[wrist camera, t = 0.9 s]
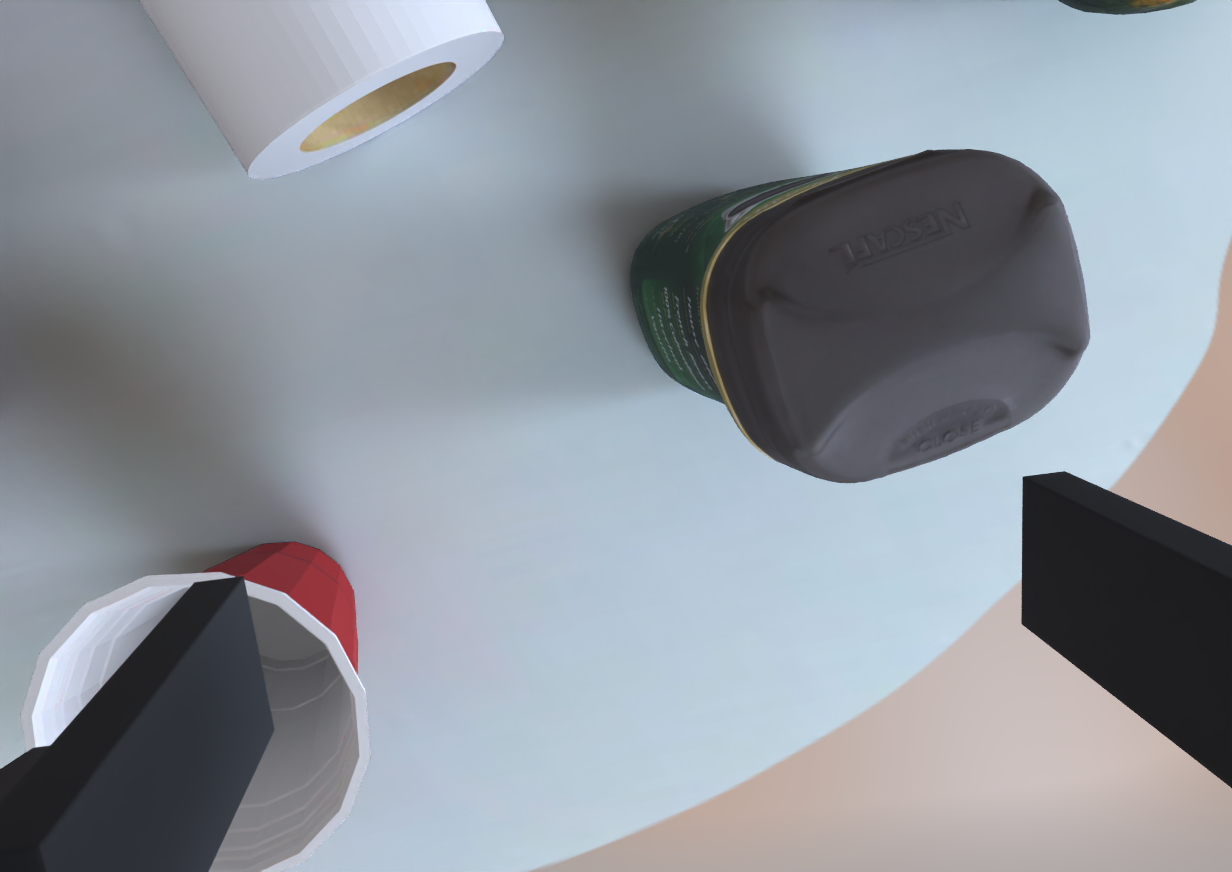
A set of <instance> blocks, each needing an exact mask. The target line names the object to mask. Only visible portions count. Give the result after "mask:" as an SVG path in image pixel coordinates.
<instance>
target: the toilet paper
mask: <svg viewBox="0 0 1232 872" xmlns="http://www.w3.org/2000/svg"><path fill="white" fill-rule="evenodd" d="M139 1H140V3H141V4H142V6H143V8H144V9H145V11H146V12H147V14H148V16H149V17H150V19H151V20H152V22H153V24H154V25H155V27H156V28H157V30H158V32H159V33H160V35H161V36H162V38H163V40H164V41H165V43H166V44H167V46H168V48H169V49H170V51H171V52H172V54H173V56H174V57H175V59H176V60H177V62H178V64H179V65H180V67H181V68H182V70H183V72H184V73H185V75H186V76H187V78H188V80H189V81H190V83H191V84H192V86H193V88H194V89H195V91H196V92H197V94H198V96H199V97H200V99H201V100H202V102H203V104H204V105H205V107H206V108H207V110H208V112H209V113H210V115H211V116H212V118H213V120H214V121H215V123H216V124H217V126H218V128H219V129H220V131H221V132H222V134H223V136H224V137H225V139H226V140H227V142H228V143H229V145H230V147H231V148H232V150H233V151H234V153H235V155H236V156H237V158H238V159H239V161H240V163H241V164H242V166H243V167H244V169H245V171H246V172H247V174H248V175H249V177H250V178H253V179H258V180H261V179H271V178H276V177H280V176H284V175H287V174H290V173H294V172H297V171H300V170H303V169H305V168H308V167H311V166H313V165H316V164H318V163H321V162H323V161H325V160H328V159H330V158H333V157H335V156H337V155H339V154H341V153H344V152H346V151H348V150H350V149H352V148H354V147H356V146H358V145H360V144H362V143H364V142H366V141H368V140H370V139H372V138H374V137H376V136H378V135H380V134H382V133H383V132H385V131H387V130H389V129H391V128H393V127H394V126H396V125H398V124H400V123H401V122H403V121H405V120H407V119H408V118H410V117H412V116H413V115H415V114H417V113H418V112H420V111H421V110H423V109H425V108H426V107H428V106H429V105H431V104H433V103H434V102H436V101H437V100H439V99H440V98H442V97H443V96H445V95H446V94H448V93H449V92H450V91H452V90H453V89H455V88H456V87H457V86H459V85H460V84H462V83H463V82H464V81H466V80H467V79H468V78H469V77H471V76H472V75H473V74H474V73H476V72H477V71H478V70H479V69H480V68H481V67H483V66H484V65H485V64H486V63H487V62H488V61H489V60H490V59H491V58H492V57H493V56H494V55H495V54H496V52H497V51H498V50H499V49H500V47H501V45H502V43H503V41H504V36H503V34H502V32H501V30H500V28H499V26H498V24H497V22H496V20H495V19H494V17H493V15H492V13H491V11H490V9H489V7H488V5H487V4H486V2H485V0H139Z"/></svg>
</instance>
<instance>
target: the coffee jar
mask: <svg viewBox="0 0 1232 872" xmlns="http://www.w3.org/2000/svg"><path fill="white" fill-rule="evenodd" d="M630 285H631V292H632V298H633V303H634V306H635V310H636V313H637V317H638V320H639V323H640V326H641V329H642V332H643V335H644V337H645V340H646V342H647V344H648V347H649V349H650V351H651V353H652V355H653V356H654V358H655V360H656V361H657V363H658V364H659V366H660V367H661V368H662V369H663V371H664V372H665V373H666V374H668V375H669V376H670V377H671V378H672V379H674V380H675V381H677V382H678V383H680V384H681V385H683V386H685V387H687V388H688V389H690V390H692V391H694V392H697V393H699V394H701V395H703V396H706V397H708V398H711V399H714V400H716V401H719V402H721V403H723V404H725V405H726V407H727V409H728V411H729V413H730V414H731V416H732V418H733V419H734V421H735V423H736V424H737V426H738V428H739V429H740V430H741V432H742V433H743V434H744V436H745V437H746V438H747V439H748V440H749V442H750V443H751V444H752V445H753V446H754V447H755V448H757V449H758V450H759V451H761V452H762V453H763V454H764V455H766V456H768V457H769V458H771V459H773V460H775V461H777V462H779V463H782V464H785V465H787V466H789V467H791V468H794V469H796V470H799V471H802V472H803V473H806V474H808V475H811V476H814V477H816V478H820V479H824V480H827V481H832V482H838V483H857V482H866V481H870V480H873V479H877V478H882V477H884V476H887V475H890V474H893V473H896V472H900V471H903V470H907V469H910V468H913V467H916V466H919V465H922V464H925V463H928V462H931V461H934V460H937V459H940V458H943V457H945V456H948V455H950V454H952V453H955V452H958V451H960V450H963V449H965V448H968V447H970V446H971V445H973V444H976V443H978V442H981V441H983V440H986V439H988V438H990V437H992V436H994V435H996V434H998V433H1000V432H1002V431H1005V430H1008V429H1010V428H1012V427H1014V426H1016V425H1018V424H1020V423H1021V422H1023V421H1025V420H1027V419H1029V418H1030V417H1031V416H1033V415H1034V414H1036V413H1037V412H1039V411H1040V410H1041V409H1042V408H1044V407H1045V406H1046V405H1047V404H1048V403H1049V402H1050V401H1051V400H1052V399H1053V398H1054V397H1055V396H1056V395H1057V394H1058V393H1059V392H1060V390H1061V389H1062V388H1063V387H1064V385H1065V384H1066V383H1067V381H1068V380H1069V378H1070V377H1071V375H1072V374H1073V373H1074V371H1075V369H1076V367H1077V366H1078V364H1079V362H1080V359H1081V357H1082V354H1083V352H1084V350H1085V349H1086V347H1087V346H1088V344H1089V340H1090V328H1089V316H1088V308H1087V301H1086V293H1085V286H1084V280H1083V275H1082V270H1081V265H1080V261H1079V256H1078V251H1077V247H1076V243H1075V240H1074V236H1073V232H1072V229H1071V225H1070V223H1069V221H1068V216H1067V215H1066V211H1065V208H1064V205H1063V203H1062V201H1061V199H1060V197H1059V196H1058V195H1057V194H1056V193H1055V192H1054V191H1053V190H1052V188H1051V187H1050V186H1049V185H1048V184H1047V183H1046V182H1045V181H1044V180H1043V179H1042V178H1041V177H1040V176H1039V175H1038V174H1037V173H1035V172H1034V171H1033V170H1032V169H1030V168H1029V167H1027V166H1025V165H1024V164H1023V163H1021V162H1020V161H1017V160H1015V159H1012V158H1010V157H1007V156H1004V155H1002V154H998V153H994V152H989V151H982V150H973V149H965V150H935V151H934V150H926V151H924V152H921V153H918V154H915V155H910V156H906V157H902V158H898V159H894V160H890V161H886V162H881V163H877V164H872V165H868V166H864V167H859V168H854V169H849V170H844V171H837V172H831V173H825V174H819V175H814V176H807V177H801V178H794V179H787V180H781V181H776V182H770V183H766V184H761V185H757V186H753V187H749V188H746V189H742V190H738V191H735V192H732V193H729V194H726V195H723V196H720V197H717V198H715V199H712V200H709V201H707V202H704V203H702V204H699V205H697V206H695V207H692V208H690V209H688V210H686V211H684V212H682V213H680V214H678V215H676V216H674V217H672V218H670V219H668V220H666V221H664V222H663V223H661V224H660V225H658V226H656V227H655V228H654V229H653V230H652V231H650V232H649V233H648V234H647V236H646V237H645V238H644V239H643V241H642V242H641V243H640V245H639V247H638V248H637V250H636V252H635V254H634V257H633V261H632V265H631V272H630Z"/></svg>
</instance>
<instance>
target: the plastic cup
mask: <svg viewBox="0 0 1232 872" xmlns="http://www.w3.org/2000/svg"><path fill="white" fill-rule="evenodd" d="M240 576H244V580H245V585H246V590H247V595H248V600H249V605H250V610H251V615H252V620H253V625H254V630H255V634H256V639H257V644H258V649H259V654H260V659H261V664H262V669H263V674H264V679H265V684H266V689H267V694H268V699H269V704H270V709H271V714H272V719H273V724H274V729H275V730H274V732H273V735H272V737H271V739H270V741H269V743H268V745H267V747H266V750H265V752H264V754H263V756H262V758H261V760H260V762H259V765H258V767H257V769H256V771H255V773H254V775H253V777H252V780H251V782H250V784H249V786H248V788H247V790H246V792H245V795H244V797H243V799H242V801H241V803H240V805H239V807H238V810H237V812H236V814H235V816H234V818H233V820H232V823H231V825H230V827H229V829H228V831H227V833H226V835H225V838H224V840H223V842H222V844H221V846H220V848H219V850H218V853H217V855H216V857H215V859H214V861H213V863H212V865H211V868H210V870H209V872H283V871H285V870H287V869H290V868H292V867H294V866H296V865H298V864H301V863H303V862H305V861H307V860H308V859H309V858H310V857H311V856H312V855H313V853H314V852H315V851H316V850H317V849H318V848H319V847H320V846H321V845H322V844H323V843H324V842H325V841H326V840H327V839H328V838H329V837H330V835H331V834H332V833H333V832H334V831H335V830H336V829H337V828H338V827H339V826H340V825H341V824H342V823H343V822H344V821H345V820H346V819H347V817H348V816H349V815H350V813H351V810H352V808H353V805H354V802H355V799H356V797H357V794H358V791H359V788H360V785H361V783H362V780H363V777H364V774H365V772H366V769H367V766H368V763H369V761H370V758H371V753H370V740H369V727H368V714H367V700H366V692H365V689H364V687H363V685H362V683H361V681H360V679H359V677H358V675H357V674H358V639H357V628H356V611H355V600H354V591H353V589H352V587H351V585H350V583H349V581H348V580H347V578H346V576H345V574H344V572H343V571H342V569H341V567H340V565H338V564H337V563H336V562H335V561H333V560H332V559H331V558H330V557H328V556H327V555H326V554H325V553H323V552H322V551H321V550H319V549H316V548H313V547H310V546H306V545H303V544H300V543H297V542H283V543H268V544H261V545H259V546H257V547H255V548H253V549H250V550H248V551H246V552H244V553H242V554H240V555H237V556H235V557H233V558H231V559H229V560H227V561H224V562H222V563H220V564H218V565H216V566H214V567H211V568H209V569H207V570H205V571H203V572H201V573H190V574H169V575H149V576H144V577H142V578H140V579H138V580H136V581H133V582H131V583H129V584H127V585H125V586H123V587H120V588H118V589H116V590H114V591H112V592H109V593H107V594H105V595H103V596H101V597H99V598H96V599H94V600H92V601H90V602H88V603H85V604H84V605H83V606H82V607H81V608H80V609H79V610H78V611H77V612H76V613H75V614H74V616H73V617H72V618H71V619H70V620H69V621H68V622H67V623H66V624H65V626H64V627H63V628H62V629H61V630H60V631H59V632H58V633H57V634H56V636H55V637H54V638H53V639H52V640H51V641H50V642H49V643H48V644H47V646H46V647H45V648H44V649H43V650H42V651H41V652H40V653H39V656H38V660H37V663H36V666H35V669H34V672H33V676H32V679H31V682H30V685H29V688H28V692H27V695H26V698H25V701H24V704H23V708H22V711H21V714H20V716H21V724H22V731H23V739H24V746H25V753H26V752H27V751H29V750H30V749H32V748H35V747H42V746H49V745H51V744H52V743H53V742H54V741H55V740H56V739H57V737H58V736H59V735H60V734H61V733H62V732H63V731H64V729H65V728H66V727H67V726H68V725H69V724H70V723H71V722H72V720H73V719H74V718H75V717H76V716H77V715H78V714H79V712H80V711H81V710H82V709H83V708H84V707H85V706H86V705H87V703H88V702H89V701H90V700H91V699H92V698H93V697H94V696H95V694H96V693H97V692H98V691H99V690H100V689H101V688H102V686H103V685H104V684H105V683H106V682H107V681H108V680H109V679H110V677H111V676H112V675H113V674H114V673H115V672H116V671H117V669H118V668H119V667H120V666H121V665H122V664H123V663H124V662H125V660H126V659H127V658H128V657H129V656H130V655H131V654H132V652H133V651H134V650H135V649H136V648H137V647H138V646H139V645H140V643H141V642H142V641H143V640H144V639H145V638H146V637H147V636H148V634H149V633H150V632H151V631H152V630H153V629H154V628H155V626H156V625H157V624H158V623H159V622H160V621H161V620H162V619H163V617H164V616H165V615H166V614H167V613H168V612H169V611H170V609H171V608H172V607H173V606H174V605H175V604H176V603H177V602H178V600H179V599H180V598H181V597H182V596H183V595H184V594H185V593H186V591H187V590H188V589H189V588H190V587H191V586H192V585H193V583H194V582H201V581H208V580H216V579H224V578H232V577H240Z"/></svg>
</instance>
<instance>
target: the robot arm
mask: <svg viewBox="0 0 1232 872" xmlns="http://www.w3.org/2000/svg"><path fill="white" fill-rule="evenodd" d="M1022 625H1024V626H1025V627H1026V628H1027V629H1029V630H1030V631H1031V632H1033V633H1034V634H1035V635H1037V636H1038V637H1039V638H1040V639H1042V640H1043V641H1044V642H1045V643H1047V644H1048V645H1049V646H1051V647H1052V648H1053V649H1054V650H1056V651H1057V652H1058V653H1059V654H1061V655H1062V656H1063V657H1065V658H1066V659H1067V660H1068V661H1070V662H1071V663H1072V664H1074V665H1075V666H1076V667H1077V668H1079V669H1080V670H1081V671H1083V672H1084V673H1085V674H1087V675H1088V676H1089V677H1090V678H1092V679H1093V680H1094V681H1096V682H1097V683H1098V684H1099V685H1101V686H1102V687H1103V688H1104V689H1106V690H1107V691H1108V692H1109V693H1111V694H1112V695H1113V696H1115V697H1116V698H1117V699H1118V700H1120V701H1121V702H1122V703H1124V704H1125V705H1126V706H1127V707H1129V708H1130V709H1131V710H1133V711H1134V712H1135V713H1136V714H1138V715H1139V716H1140V717H1141V718H1143V719H1144V720H1145V721H1147V722H1148V723H1149V724H1151V725H1152V726H1153V727H1154V728H1156V729H1157V730H1158V731H1159V732H1161V733H1162V734H1163V735H1165V736H1166V737H1167V738H1168V739H1170V740H1171V741H1172V742H1174V743H1175V744H1176V745H1177V746H1179V747H1180V748H1181V749H1182V750H1184V751H1185V752H1186V753H1188V754H1189V755H1190V756H1192V757H1193V758H1194V759H1195V760H1197V761H1198V762H1199V763H1200V764H1202V765H1203V766H1204V767H1206V768H1207V769H1208V770H1209V771H1211V772H1212V773H1213V774H1215V775H1216V776H1217V777H1218V778H1220V779H1221V780H1222V781H1224V782H1225V783H1226V784H1227V785H1229V786H1230V787H1231V788H1232V546H1231V545H1229V544H1227V543H1225V542H1222V541H1220V540H1218V539H1216V538H1213V537H1211V536H1209V535H1207V534H1204V533H1202V532H1200V531H1198V530H1195V529H1193V528H1191V527H1189V526H1186V525H1184V524H1182V523H1180V522H1177V521H1175V520H1173V519H1171V518H1168V517H1166V516H1164V515H1161V514H1159V513H1157V512H1155V511H1153V510H1150V509H1148V508H1146V507H1144V506H1141V505H1139V504H1137V503H1135V502H1132V501H1130V500H1128V499H1126V498H1123V497H1121V496H1119V495H1116V494H1114V493H1112V492H1110V491H1108V490H1105V489H1103V488H1101V487H1099V486H1097V485H1094V484H1092V483H1090V482H1088V481H1085V480H1083V479H1081V478H1079V477H1076V476H1074V475H1072V474H1070V473H1067V472H1065V471H1064V472H1056V473H1048V474H1040V475H1033V476H1025V477H1023V508H1022ZM274 730H275V729H274V724H273V719H272V714H271V709H270V704H269V699H268V694H267V689H266V684H265V679H264V674H263V669H262V664H261V659H260V654H259V649H258V644H257V639H256V634H255V630H254V625H253V620H252V615H251V610H250V605H249V600H248V595H247V590H246V585H245V580H244V576H240V577H232V578H224V579H216V580H208V581H201V582H194V583H193V585H192V586H191V587H190V588H189V589H188V590H187V591H186V593H185V594H184V595H183V596H182V597H181V598H180V599H179V600H178V602H177V603H176V604H175V605H174V606H173V607H172V608H171V609H170V611H169V612H168V613H167V614H166V615H165V616H164V617H163V619H162V620H161V621H160V622H159V623H158V624H157V625H156V626H155V628H154V629H153V630H152V631H151V632H150V633H149V634H148V636H147V637H146V638H145V639H144V640H143V641H142V642H141V643H140V645H139V646H138V647H137V648H136V649H135V650H134V651H133V652H132V654H131V655H130V656H129V657H128V658H127V659H126V660H125V662H124V663H123V664H122V665H121V666H120V667H119V668H118V669H117V671H116V672H115V673H114V674H113V675H112V676H111V677H110V679H109V680H108V681H107V682H106V683H105V684H104V685H103V686H102V688H101V689H100V690H99V691H98V692H97V693H96V694H95V696H94V697H93V698H92V699H91V700H90V701H89V702H88V703H87V705H86V706H85V707H84V708H83V709H82V710H81V711H80V712H79V714H78V715H77V716H76V717H75V718H74V719H73V720H72V722H71V723H70V724H69V725H68V726H67V727H66V728H65V729H64V731H63V732H62V733H61V734H60V735H59V736H58V737H57V739H56V740H55V741H54V742H53V743H52V744H51V745H49V746H42V747H35V748H32V749H30V750H29V751H27V752H26V753H24V754H23V755H21V756H20V757H18V758H17V759H15V760H14V761H12V762H11V763H9V764H8V765H6V766H5V767H3V768H2V769H0V872H209V870H210V868H211V865H212V863H213V861H214V859H215V857H216V855H217V853H218V850H219V848H220V846H221V844H222V842H223V840H224V838H225V835H226V833H227V831H228V829H229V827H230V825H231V823H232V820H233V818H234V816H235V814H236V812H237V810H238V807H239V805H240V803H241V801H242V799H243V797H244V795H245V792H246V790H247V788H248V786H249V784H250V782H251V780H252V777H253V775H254V773H255V771H256V769H257V767H258V765H259V762H260V760H261V758H262V756H263V754H264V752H265V750H266V747H267V745H268V743H269V741H270V739H271V737H272V735H273V732H274Z"/></svg>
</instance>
